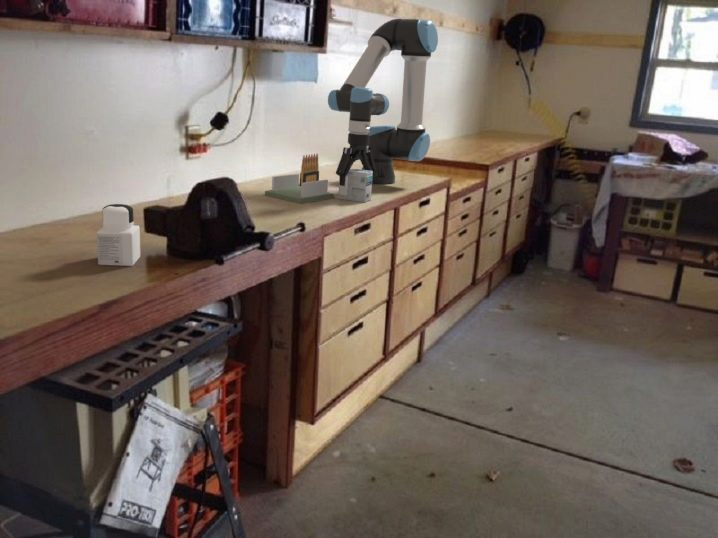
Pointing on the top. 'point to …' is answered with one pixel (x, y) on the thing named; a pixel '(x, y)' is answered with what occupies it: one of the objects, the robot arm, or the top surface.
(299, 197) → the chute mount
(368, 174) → the light bulb box
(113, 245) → the container
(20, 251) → the top surface
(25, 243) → the top surface
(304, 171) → the ammunition clip
